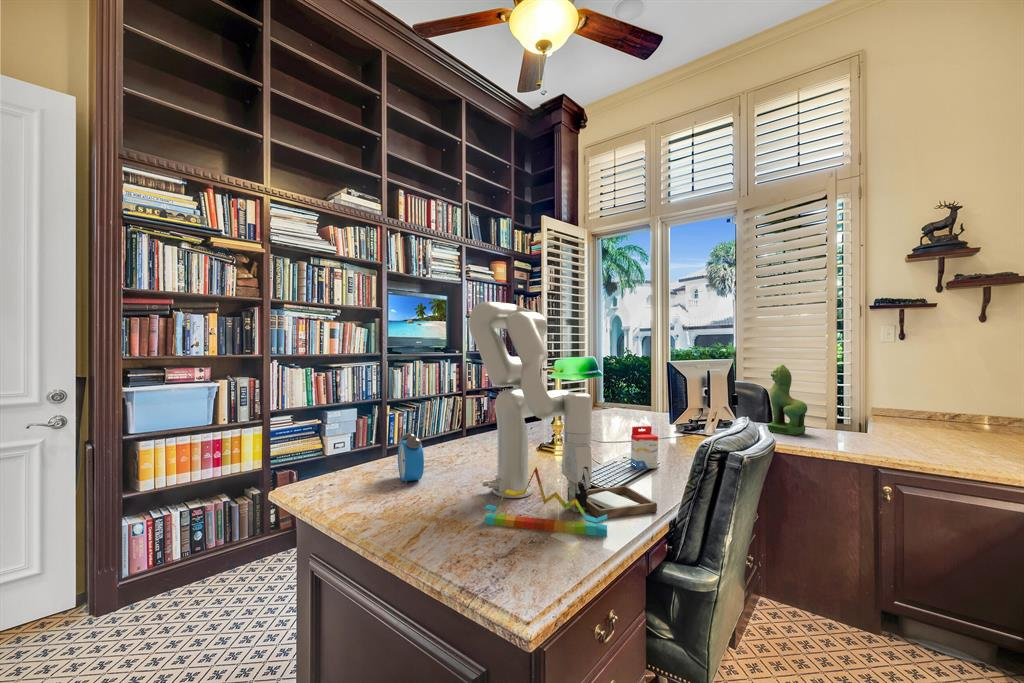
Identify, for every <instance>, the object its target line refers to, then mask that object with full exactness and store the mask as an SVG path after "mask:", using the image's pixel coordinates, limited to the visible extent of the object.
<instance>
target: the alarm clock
mask: <svg viewBox="0 0 1024 683" xmlns="http://www.w3.org/2000/svg"><path fill="white" fill-rule="evenodd" d="M424 462H425V456H424V449H423V445H422V441H421V439H420V437H417V435H415V433H414V432H413V433H412V432H407V433H405V434H403V435H402V437H401V440H400V441H399V443H398V449H397V466H398V474H399V477H400V480H401V481H402V482H404V483H405V485H407V484H408V482H412V481H419V480H421V479H422V478H423V475H424V472H425V471H424V470H425V468H424V467H425V463H424Z"/></svg>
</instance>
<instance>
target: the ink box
mask: <svg viewBox="0 0 1024 683" xmlns="http://www.w3.org/2000/svg"><path fill="white" fill-rule="evenodd" d="M652 430H653V428H652V426H651V425H646V426H645V425H644V426H643V425H640V426H639V425H638V426H632V427H631V435H630V438H631V439H630V466H631V467H634V469H637V470H640V469H641V470H642V469H643V470H644V469H658V463H659V462H658V458H659V457H658V456H659V453H658V452H659V451H658V450H659V446H658V445H659V436H658V435H655V434H653V433H652ZM632 463H633V464H635V465H636V466H635V465H633V464H632Z"/></svg>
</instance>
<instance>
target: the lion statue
mask: <svg viewBox="0 0 1024 683" xmlns="http://www.w3.org/2000/svg"><path fill="white" fill-rule="evenodd" d="M770 377H772V378H771V380H772V381H774V384H773V385H772V386H771V388H770V391H769V396H770V397H769V399H770V402H771V406H772V416H773V417H772V418H773V420H772V421H771V422H770V423H767V424H766V427H767V431H768V430H769V431H771V432H770V433H775V434H780V435H785V436H786V435H787V436H799V435H802V434H803V435H804V434H805V433H806V425H805V419H806V414H807V413H808V406H807V403H805V402H804V401H803V400H801V399H796V398H793V397H792V396H791V395H790V389H791V386H792V380H793V379H792V374H791V371H790V370H789V368H787V367H786V365H785V364H780V365H778V366H776V367H775V368H774V369H773V371H771V372H770ZM785 415H786V416H787V417H788V418H789V422H786V419H785V418H786V416H785ZM769 431H768V432H769Z"/></svg>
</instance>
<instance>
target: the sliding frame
mask: <svg viewBox="0 0 1024 683" xmlns="http://www.w3.org/2000/svg"><path fill="white" fill-rule="evenodd" d="M581 481H584V480H583V479H581ZM581 485H583V484H580V487H581ZM604 491H609V492H611V493H614V494H616V495H619V496H621V495H626V496H628V497H629V498H631V499H632V500H633V501H635V502H636V503H639V504H640V505H632V506H623V507H615V508H600V507H598V506H597V504H595V503H592V502H590V501H589V500H588V496H589V495H593V494H596V493H600V492H604ZM575 493H577V490H576V483H574V482H572V481H571V480H569V501H568V503H569V502H571V501H573V500H575ZM568 508H569V509H570V510H571V511H573V513H581V512H580V511H579V509H578V508H576V507H575V504H574V505H572V506H569V507H568ZM582 509H583V511H584V512H586V511H588V512H590V513H591V514H592V515H594V516H595V518H599V517H601V516H603V515H606V514H607V519H610V518H618V517H626V516H632V515H633V516H634V515H642V514H651V513H657V512H658V503H657V502H656V501H655V502H654V501H653V500H652V499H649V498H648V497H646V496H644V495H643V494H641V493H640V492H637V491H636V490H634V489H633V488H631V487H629V486H627V485H618V486H611V487H610V486H609V487H600V488H591V489H590V488H589V489H588V492H587V506H586V507H583V508H582Z"/></svg>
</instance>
